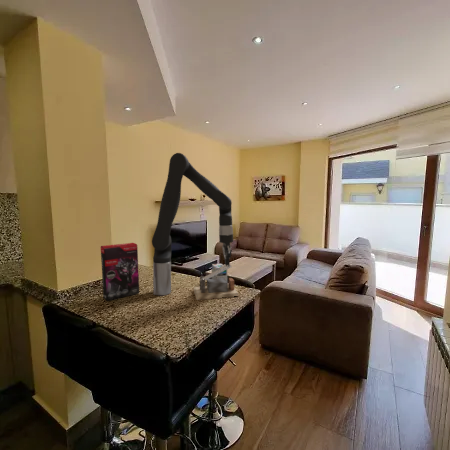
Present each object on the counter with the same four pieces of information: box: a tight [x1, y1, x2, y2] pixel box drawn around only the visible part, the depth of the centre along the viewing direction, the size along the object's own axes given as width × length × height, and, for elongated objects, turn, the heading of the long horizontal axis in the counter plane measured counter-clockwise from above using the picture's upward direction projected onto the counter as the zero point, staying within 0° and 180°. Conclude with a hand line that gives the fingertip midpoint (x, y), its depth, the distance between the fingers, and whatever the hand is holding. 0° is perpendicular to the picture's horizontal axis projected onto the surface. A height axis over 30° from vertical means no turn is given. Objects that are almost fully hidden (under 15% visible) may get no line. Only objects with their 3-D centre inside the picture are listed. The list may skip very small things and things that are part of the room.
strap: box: [199, 263, 232, 281], centre depth 135 cm, size 18×4×2 cm, turn 104°
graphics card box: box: [100, 242, 140, 302], centre depth 130 cm, size 17×7×27 cm, turn 132°
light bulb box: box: [211, 263, 228, 282], centre depth 154 cm, size 11×7×11 cm, turn 22°
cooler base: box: [193, 275, 239, 301], centre depth 136 cm, size 22×14×9 cm, turn 103°
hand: (227, 264), depth 136 cm, fingers closed
